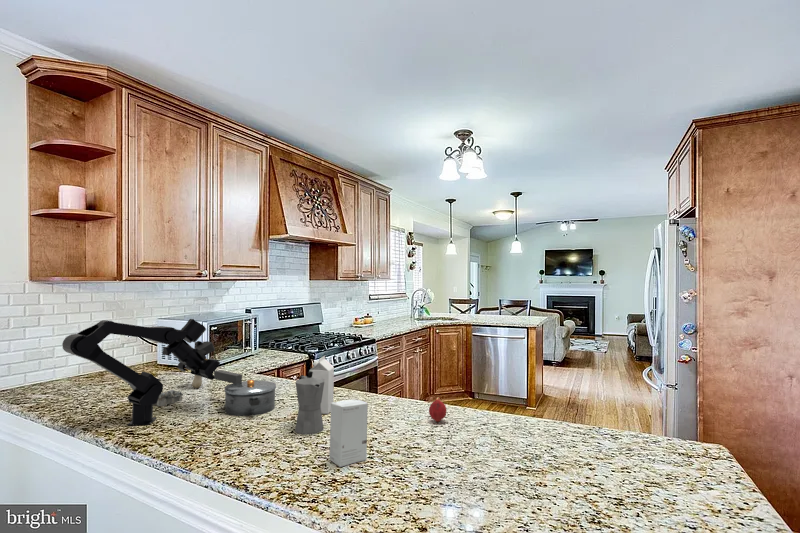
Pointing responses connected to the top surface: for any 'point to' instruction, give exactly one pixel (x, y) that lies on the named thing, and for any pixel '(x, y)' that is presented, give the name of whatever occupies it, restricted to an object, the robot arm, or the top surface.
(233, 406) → the cooking pot
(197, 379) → the mushroom
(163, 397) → the egg carton
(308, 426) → the coffeepot
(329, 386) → the milk carton
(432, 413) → the onion
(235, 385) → the pot lid
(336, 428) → the skincare box
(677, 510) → the top surface
